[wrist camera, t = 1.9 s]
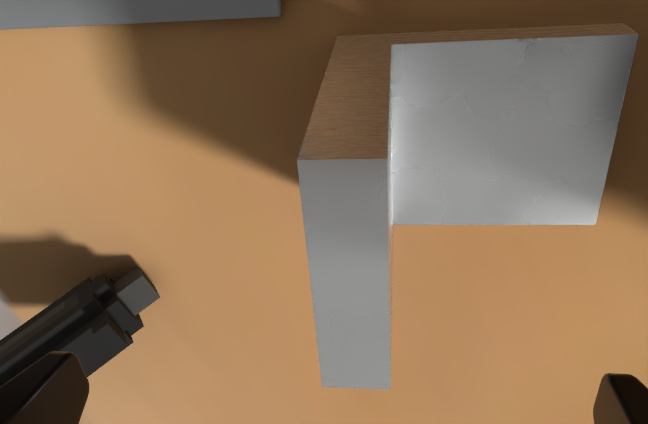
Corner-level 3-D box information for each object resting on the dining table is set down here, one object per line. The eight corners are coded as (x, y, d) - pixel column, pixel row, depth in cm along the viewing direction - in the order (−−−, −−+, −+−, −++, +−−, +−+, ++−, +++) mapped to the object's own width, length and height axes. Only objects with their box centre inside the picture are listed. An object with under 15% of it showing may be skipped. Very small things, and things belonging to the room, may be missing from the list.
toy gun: (-137, 379, 25) (-229, 546, 17) (109, 212, 28) (140, 280, 20) (-96, 412, 26) (-161, 584, 18) (138, 248, 29) (179, 327, 21)
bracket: (623, 22, 15) (794, 152, 9) (584, 204, 19) (688, 401, 12) (337, 34, 17) (296, 160, 10) (347, 205, 20) (322, 386, 13)
